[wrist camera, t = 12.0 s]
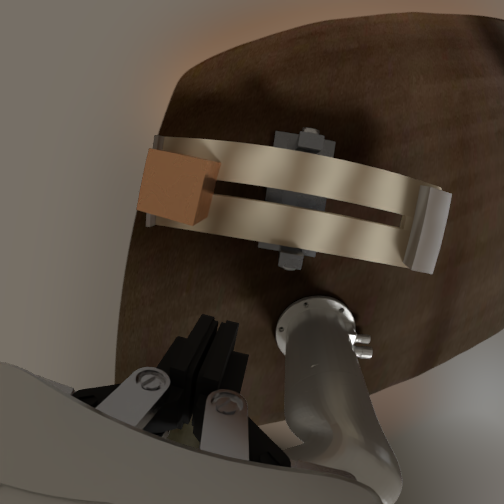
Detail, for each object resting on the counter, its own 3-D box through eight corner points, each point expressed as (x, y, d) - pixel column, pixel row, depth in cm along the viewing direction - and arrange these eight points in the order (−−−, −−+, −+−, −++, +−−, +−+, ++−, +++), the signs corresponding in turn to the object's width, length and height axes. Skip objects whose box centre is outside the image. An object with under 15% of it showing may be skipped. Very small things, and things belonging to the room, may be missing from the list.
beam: (436, 186, 27) (452, 189, 23) (417, 267, 29) (431, 278, 26) (164, 137, 29) (150, 134, 25) (156, 222, 32) (141, 228, 28)
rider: (223, 163, 29) (208, 160, 23) (209, 215, 31) (192, 226, 25) (173, 151, 29) (149, 148, 23) (161, 202, 31) (136, 209, 25)
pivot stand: (334, 142, 34) (353, 131, 24) (314, 255, 39) (324, 283, 29) (275, 131, 35) (273, 116, 25) (258, 245, 39) (249, 271, 29)
